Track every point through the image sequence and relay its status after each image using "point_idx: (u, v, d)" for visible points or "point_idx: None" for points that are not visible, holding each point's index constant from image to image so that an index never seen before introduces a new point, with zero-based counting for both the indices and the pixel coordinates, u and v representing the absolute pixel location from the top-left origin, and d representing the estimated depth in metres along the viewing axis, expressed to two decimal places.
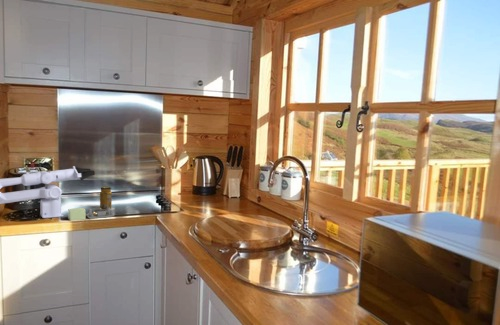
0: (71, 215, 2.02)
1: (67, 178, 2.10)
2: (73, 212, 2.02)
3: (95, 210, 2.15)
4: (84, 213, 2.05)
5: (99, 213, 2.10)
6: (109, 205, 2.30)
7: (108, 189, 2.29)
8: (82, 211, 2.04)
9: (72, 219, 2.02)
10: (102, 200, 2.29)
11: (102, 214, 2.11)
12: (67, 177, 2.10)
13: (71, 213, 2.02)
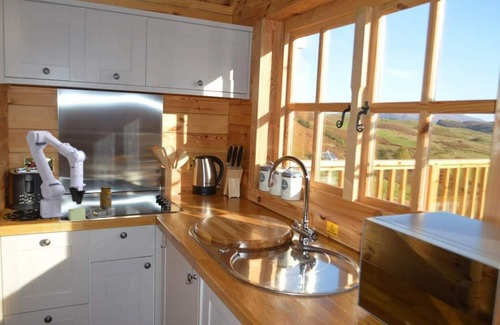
0: (71, 215, 2.02)
1: (74, 177, 2.01)
2: (73, 212, 2.02)
3: (95, 210, 2.15)
4: (84, 213, 2.05)
5: (99, 213, 2.10)
6: (109, 205, 2.30)
7: (108, 189, 2.29)
8: (82, 211, 2.04)
9: (72, 219, 2.02)
10: (102, 200, 2.29)
11: (102, 214, 2.11)
12: (76, 177, 2.01)
13: (71, 213, 2.02)
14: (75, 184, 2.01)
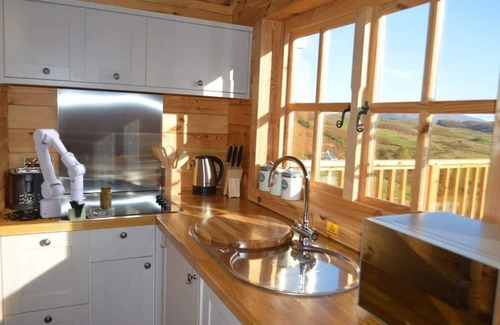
0: (71, 215, 2.02)
1: (74, 191, 2.01)
2: (73, 212, 2.02)
3: (95, 210, 2.15)
4: (84, 213, 2.05)
5: (99, 213, 2.10)
6: (109, 205, 2.30)
7: (108, 189, 2.29)
8: (82, 211, 2.04)
9: (72, 219, 2.02)
10: (102, 200, 2.29)
11: (102, 214, 2.11)
12: (76, 191, 2.01)
13: (71, 213, 2.01)
14: (75, 198, 2.02)
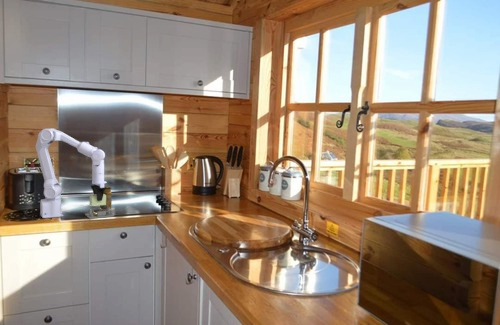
0: (92, 200, 2.09)
1: (96, 175, 2.08)
2: (94, 197, 2.09)
3: (95, 210, 2.15)
4: (105, 198, 2.12)
5: (99, 213, 2.10)
6: (109, 205, 2.30)
7: (108, 189, 2.29)
8: (103, 196, 2.11)
9: (93, 204, 2.09)
10: None
11: (102, 214, 2.11)
12: (97, 175, 2.08)
13: (92, 198, 2.08)
14: (97, 181, 2.09)
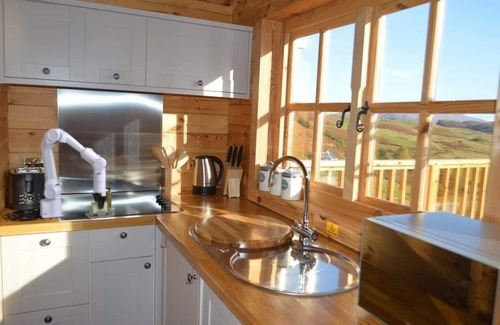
0: (94, 208, 2.10)
1: (97, 183, 2.09)
2: (96, 205, 2.10)
3: None
4: (106, 206, 2.13)
5: (99, 213, 2.10)
6: (109, 205, 2.30)
7: (108, 189, 2.29)
8: (104, 204, 2.12)
9: (95, 212, 2.10)
10: None
11: (102, 214, 2.11)
12: (99, 183, 2.09)
13: (94, 206, 2.09)
14: (98, 190, 2.10)
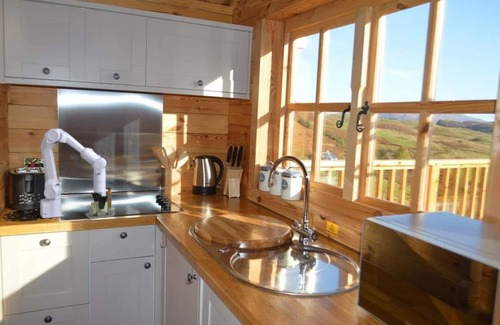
0: (94, 208, 2.10)
1: (97, 183, 2.09)
2: (96, 205, 2.10)
3: None
4: (106, 206, 2.13)
5: (99, 213, 2.10)
6: (109, 205, 2.30)
7: (108, 189, 2.29)
8: None
9: (95, 212, 2.10)
10: None
11: (102, 214, 2.11)
12: (99, 183, 2.09)
13: (94, 206, 2.09)
14: (98, 190, 2.10)
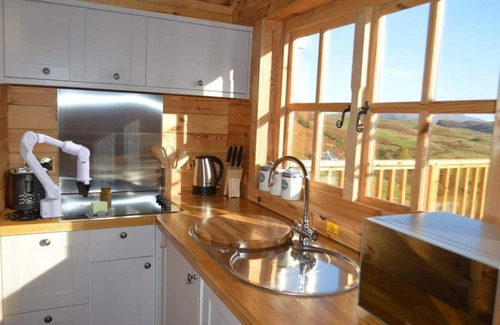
0: (94, 208, 2.10)
1: (81, 172, 2.12)
2: (96, 205, 2.10)
3: None
4: (106, 206, 2.13)
5: (99, 213, 2.10)
6: (109, 205, 2.30)
7: (108, 189, 2.29)
8: (104, 204, 2.12)
9: (95, 212, 2.10)
10: (102, 200, 2.29)
11: (102, 214, 2.11)
12: (82, 172, 2.12)
13: (94, 206, 2.09)
14: (82, 178, 2.12)
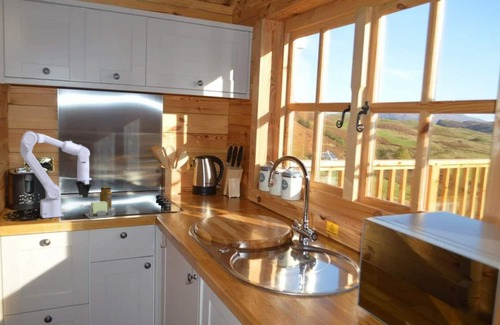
0: (94, 208, 2.10)
1: (81, 172, 2.12)
2: (96, 205, 2.10)
3: None
4: (106, 206, 2.13)
5: (99, 213, 2.10)
6: (109, 205, 2.30)
7: (108, 189, 2.29)
8: (104, 204, 2.12)
9: (95, 212, 2.10)
10: (102, 200, 2.29)
11: (102, 214, 2.11)
12: (82, 172, 2.12)
13: (94, 206, 2.09)
14: (82, 178, 2.12)
